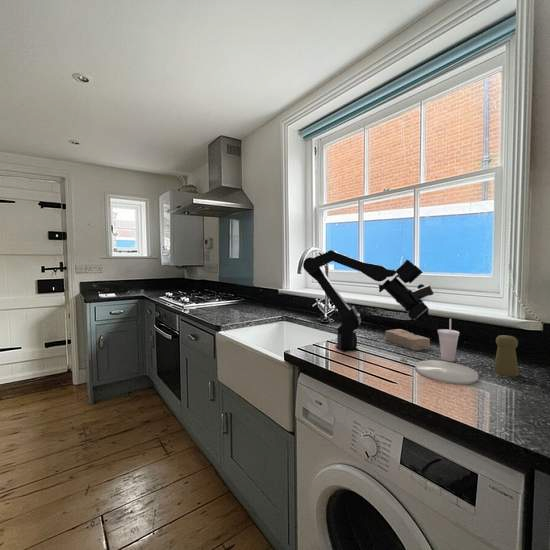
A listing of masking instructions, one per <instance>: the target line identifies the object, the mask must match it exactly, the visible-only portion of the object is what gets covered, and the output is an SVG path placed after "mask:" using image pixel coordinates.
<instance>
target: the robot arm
mask: <svg viewBox="0 0 550 550" xmlns="http://www.w3.org/2000/svg"><path fill="white" fill-rule="evenodd" d="M331 262H334V263H337V264H339V265H342V266H344V267H347V268H351V269H352V270H355V271H358V272H360V273H362V274H364V275H365V276H367V277H369V278H370V279H372V280H374V281H375V282H377V283H378V282H383V281H384V282H383V283H380V284H378V292H379V293H381V292H383V291H384V290H385V292H387V293H388V294H389V295H390V296H391V297H392V298H393V299H394V300H395V302H396V303H397V304H399V305H400V306H401V307H402V308H403V309H404V310H405V312H407V315H408V317H409V318H410V319H411V321H414V322H417V323H418V324H422V325H424V326H426V327H428V328H431V329H433V330H438V326H437V325H436V323H435V321H434V320H433V319H432V318H431V316H430V314H429V311H430V310H429V307H428V306H427V304H425V302H424V301H423V300H422V299H423V298H426V297H428V296H432V295H434V294H435V293H434V292H433V289H432V288H431V285H429V284H427V285H424V284H423V283H421V284H418V285H417V289H413V290H411V289H410V288H408V287H406V285H404V284H407V283H409V284H411V283H413V282H414V281H415V280H416V279H417V278H419V276H421V274H423V271H422V270H421V269H420V268H419V267H418V266H417V265H415V264H414V263H413V262H411V261H410V260H409V259H406V260H405V261H404V262H403V263H401V265H400V266H398V268H396V270H395V269H388V268H387V267H385V266H384V265H380V264H374V263H368V262H365V261H362V260H359V259H356V258H353V257H350V256H348V255H345V254H341V253H340V252H337V251H336V250H330V249H329V250H328V251H326V252H325V253H324V252H323V253H322V254H320V255H317V256H315V257H307V258H305V259H304V261H303V264H302V266H303V270H305V271H306V273H307V274H308V275H309V276H310V277H312V278H313V279H314V280H316V282H317V283H318V284H319V286H320V287H321V289H322V290H323V292H324V293H325V295H326V296H327V297H328V298H329V300H330V302H331V304H332V305H333V306H334V307H335V309H336V310H337V312H338V315H339V319H340V320H341V324H340V325H339V326H338V327H337V328H336V329H337V333H336V334H337V336H336V337H337V338H336V340H337V341H336V343H337V344H336V345H334V346H335V348H337V349H338V350H339V351H342V352H349V351H351V352H352V351H358V350H359V347H358V336H357V332H356V330H357V329H358V328H359V326H360V324H361V321H362V318H361V314H360V313H359V312H358V310H357V308H356V307H355V306H354V305H353V306H352V307H351V306H349V305H348V304H347V302H346V301H345V300H344V298H343V297H342V296H341V294H340V292H339V291H338V290H337V288H336V287H335V286H334V285H333V284H334V283H332V281H331V280H330V278H329V277H328V276H327V274H326V271H325V268H324V266H326V265H327V264H330V263H331ZM391 277H393V278H392V279H391V280H390V279H389V278H391ZM398 278H399V279H400V280H399V279H398ZM386 279H387V280H386ZM401 281H402V282H403V283H402V282H401Z"/></svg>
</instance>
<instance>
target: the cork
mask: <svg viewBox="0 0 550 550" xmlns="http://www.w3.org/2000/svg"><path fill="white" fill-rule="evenodd" d="M495 343H496V345H497V349H496V354H495V358H494V364H493V369H492V371H493V372H494V373H496V374H498V375H502V376H507V377H518V376H520V375H519V374H520V373H519V367H518V366H519V365H518V359H517V358H518V357H517V352H516V348H517V347H518V346H519V340H518V339H517V338H516V336H512V335H505V334H502V335H498V336H497V337H496V338H495Z"/></svg>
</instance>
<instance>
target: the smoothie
mask: <svg viewBox="0 0 550 550" xmlns="http://www.w3.org/2000/svg"><path fill="white" fill-rule="evenodd" d="M448 321H449V326H448V327H449V329H448V328H447V329H445V328H444V329H443V328H441V329H437V334H438V340H439V349H440V355H441V361H446V362H454V361H455V358H456V353H457V352H456V351H457V346H458V341H459V336H460V332H459V331H458V330H454V329H452V318H449V320H448Z"/></svg>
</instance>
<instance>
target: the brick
mask: <svg viewBox="0 0 550 550" xmlns="http://www.w3.org/2000/svg"><path fill="white" fill-rule="evenodd" d="M385 340H386V341H388V342H389V341H390V342H389V343H391V344H392V343H393V344H395V345H397V344H398V346H400V345H401V347H404V348H406V349H410V350H412V351H421V350H422V351H424V350H423V349H425V350H430V349H431V343H430V342H431V339H430V338H429V337H426V336H421V335H419V334H414V333H413V332H409V331H408V330H406V329H405V330H404V329H402V328H397V329H396V328H395V329H389V330H385Z"/></svg>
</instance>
